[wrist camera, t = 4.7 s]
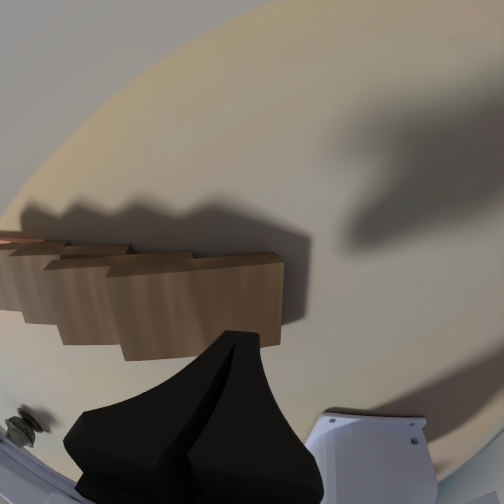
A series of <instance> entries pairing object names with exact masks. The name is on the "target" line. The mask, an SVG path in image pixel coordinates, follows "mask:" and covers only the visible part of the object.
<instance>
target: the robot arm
mask: <svg viewBox="0 0 504 504" xmlns="http://www.w3.org/2000/svg"><path fill="white" fill-rule="evenodd" d="M426 423H427V421H426V418H400V417H375V416H360V415H348V414H337V413H328V412H326V413H323V414H321V415H320V416H319V418H318V420H317V422H316V424H315V425H314V427H313V429H312V431H311V433H310V434H309V436H308V438H307V439H306V441H305V443H304V444H303V443H302V442H301V441H300V439H299V438H298V437H297V435H296V434H295V433H294V431H293V430H292V428H291V427H290V425H289V424H288V422H287V420H286V419H285V417H284V416H283V414H282V412H281V411H280V409H279V407H278V405H277V403H276V401H275V399H274V396H273V394H272V392H271V390H270V387H269V384H268V382H267V379H266V376H265V373H264V369H263V365H262V361H261V356H260V335H259V334H258V333H257V332H244V331H233V330H225V331H224V332H223V333H222V334H221V335H220V336H219V337H218V338H217V339H216V340H215V341H214V342H213V343H212V344H211V345H210V346H209V347H208V348H207V349H206V350H205V351H204V352H202V353H201V354H200V355H199V356H198V357H197V358H196V359H195V360H193V361H192V362H191V363H190V364H188V365H187V366H186V367H185V368H183V369H182V370H181V371H180V372H178V373H177V374H175V375H174V376H172V377H171V378H169V379H168V380H166V381H165V382H163V383H161V384H160V385H158V386H156V387H154V388H152V389H150V390H148V391H146V392H144V393H142V394H140V395H138V396H135V397H133V398H130V399H128V400H125V401H122V402H119V403H116V404H113V405H110V406H106V407H102V408H98V409H94V410H90V411H85V412H83V413H82V414H81V416H80V417H79V418H78V419H77V421H76V422H75V424H74V425H73V426H72V428H71V429H70V431H69V432H68V433H67V435H66V436H65V438H64V440H63V443H64V447H65V449H66V451H67V452H68V454H69V455H70V456H71V458H72V459H73V460H74V462H75V463H76V464H77V465H78V467H79V468H80V469H81V470H82V472H83V474H82V476H81V478H80V479H79V481H78V483H77V482H75V481H73V480H71V479H69V478H68V477H66V476H64V475H62V474H60V473H58V472H57V471H55V470H53V469H52V468H50V467H48V466H46V465H45V464H43V463H41V462H40V461H38V460H37V459H35V458H34V457H32V456H31V455H29V454H28V453H26V452H25V451H23V450H22V449H20V448H19V447H17V446H16V445H15V444H13V443H12V442H11V441H9V440H8V439H7V438H5V437H4V436H3V434H2V433H1V431H0V495H1V496H2V497H3V498H4V499H6V500H7V501H8V502H9V503H10V504H434V503H435V500H436V496H437V478H436V474H435V470H434V466H433V463H432V459H431V456H430V452H429V449H428V446H427V442H426V439H425V436H424V433H423V430H422V428H423V427H424V426H425V424H426ZM465 504H500V503H499V499H498V496H497V493H496V491H493V492H491V493H488V494H486V495H484V496H481V497H479V498H476V499H474V500H471V501H469V502H467V503H465Z"/></svg>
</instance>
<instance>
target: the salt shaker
mask: <svg viewBox="0 0 504 504" xmlns="http://www.w3.org/2000/svg"><path fill="white" fill-rule="evenodd" d="M18 414H19V416H20V417H16V416H14V417H11V418H9V419H8V420H7V419H6V420H5V423H6V425H7V427H8V430H7V433H6V435H5V436H4V437H5V438H7V439H8V440H9V441H11V442H12V443H13V444H15V445H16V446H17V447H19V448H21V447H23V446H24V445H26V446H29V447H31V448H33V443H34V442H35V433H34V431H35V432H39V433H42V432H43V431H42V428H41V427H40V425H39V424H38V423H37V422H36V420H35V419H34V418H33V417H32V416H31V415H29V414H28V413H27V412H26V411H24V410H23V409H21V408H18ZM33 430H34V431H33Z"/></svg>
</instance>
